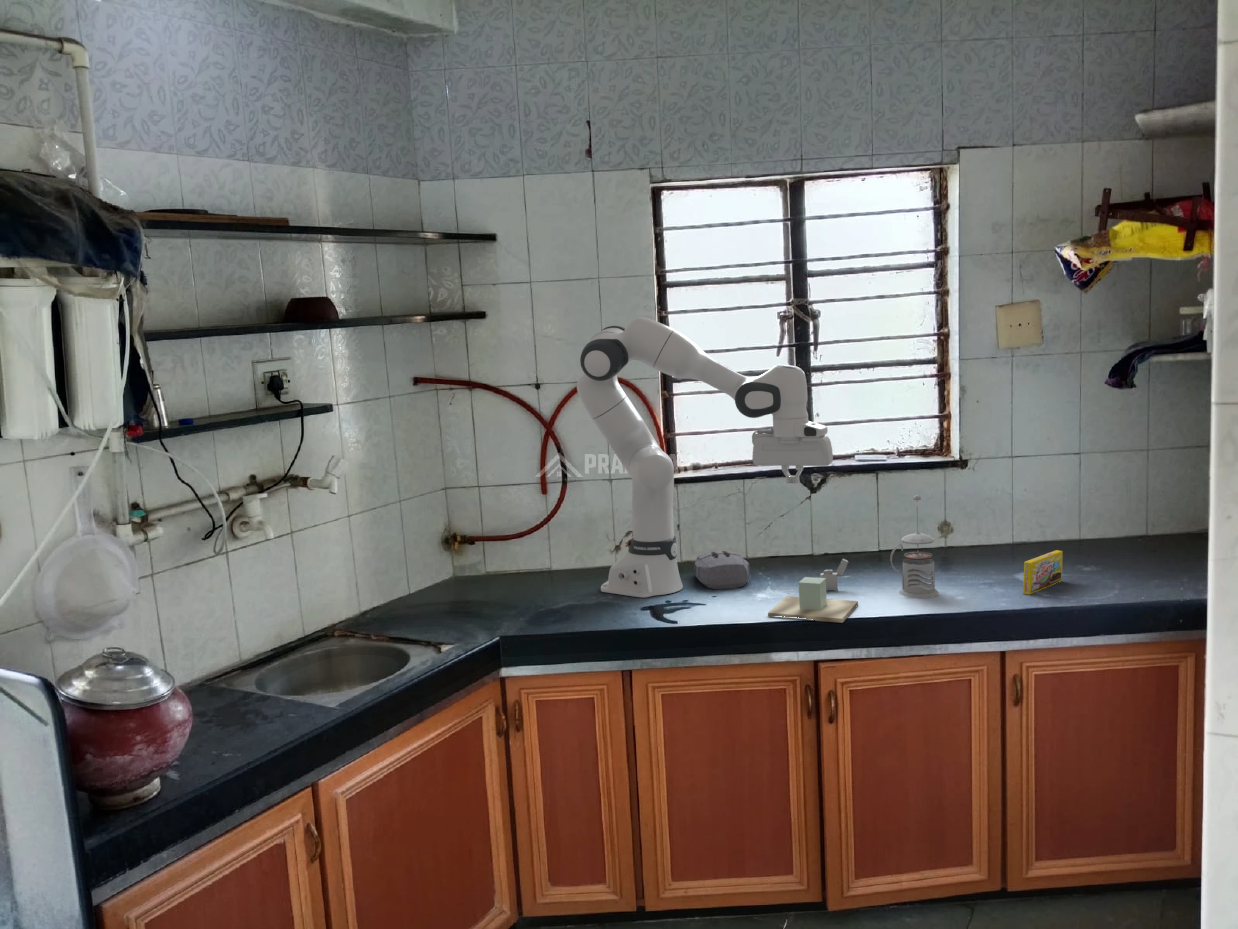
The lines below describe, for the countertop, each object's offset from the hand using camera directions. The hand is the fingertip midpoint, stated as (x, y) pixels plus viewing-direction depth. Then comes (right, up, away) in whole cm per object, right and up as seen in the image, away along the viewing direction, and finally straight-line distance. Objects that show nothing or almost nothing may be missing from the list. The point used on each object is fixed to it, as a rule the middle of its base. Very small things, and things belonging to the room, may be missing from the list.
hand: (793, 483), depth 251 cm
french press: (+31, -28, -1) cm, 42 cm away
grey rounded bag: (-16, -28, +23) cm, 39 cm away
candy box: (+62, -26, -3) cm, 68 cm away
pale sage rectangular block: (+3, -30, -11) cm, 32 cm away
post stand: (+3, -31, -11) cm, 33 cm away
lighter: (+12, -28, +7) cm, 31 cm away
